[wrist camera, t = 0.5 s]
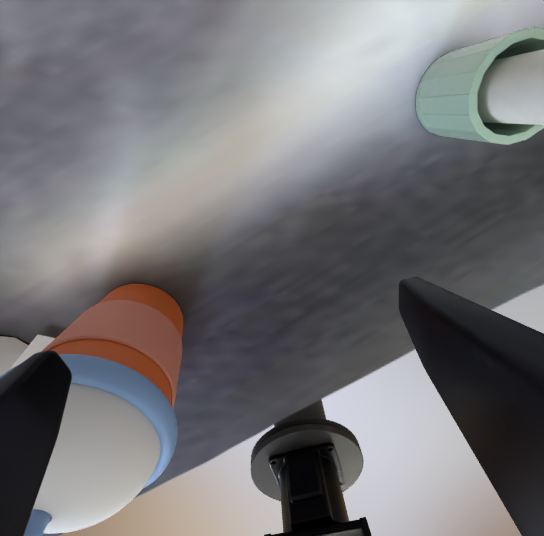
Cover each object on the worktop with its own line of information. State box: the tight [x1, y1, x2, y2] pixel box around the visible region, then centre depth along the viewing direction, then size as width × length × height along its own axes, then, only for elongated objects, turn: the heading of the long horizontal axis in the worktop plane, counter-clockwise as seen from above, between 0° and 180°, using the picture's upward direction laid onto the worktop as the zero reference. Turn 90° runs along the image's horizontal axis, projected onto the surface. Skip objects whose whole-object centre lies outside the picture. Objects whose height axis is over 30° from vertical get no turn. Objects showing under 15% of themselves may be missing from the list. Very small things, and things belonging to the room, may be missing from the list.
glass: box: [416, 27, 544, 145], centre depth 17 cm, size 5×5×6 cm
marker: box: [477, 49, 544, 125], centre depth 14 cm, size 3×3×12 cm
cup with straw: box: [0, 284, 183, 536], centre depth 17 cm, size 9×9×18 cm
